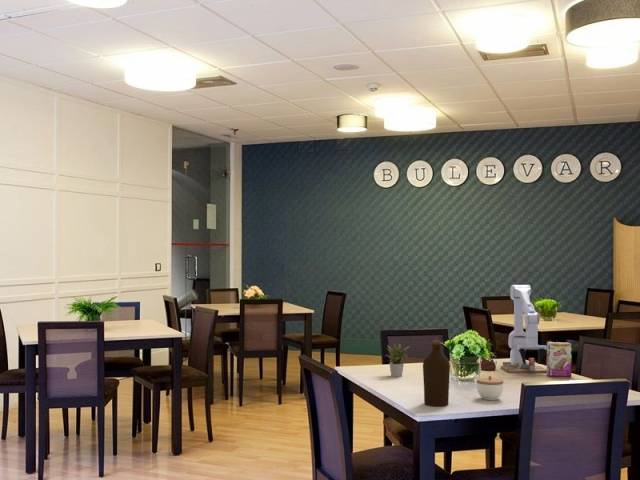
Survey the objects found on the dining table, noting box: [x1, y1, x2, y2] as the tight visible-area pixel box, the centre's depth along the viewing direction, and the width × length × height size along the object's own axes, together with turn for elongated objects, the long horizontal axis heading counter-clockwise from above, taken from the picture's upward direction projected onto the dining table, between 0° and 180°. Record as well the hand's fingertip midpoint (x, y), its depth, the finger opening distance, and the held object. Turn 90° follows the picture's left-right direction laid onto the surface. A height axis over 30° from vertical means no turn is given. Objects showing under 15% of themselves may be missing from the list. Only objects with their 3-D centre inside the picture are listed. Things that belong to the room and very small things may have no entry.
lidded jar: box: [476, 375, 504, 401], centre depth 290 cm, size 11×11×9 cm
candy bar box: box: [546, 341, 573, 378], centre depth 348 cm, size 11×5×16 cm, turn 84°
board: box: [500, 361, 547, 374], centre depth 364 cm, size 15×20×4 cm
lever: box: [520, 357, 536, 371], centre depth 362 cm, size 16×5×6 cm, turn 1°
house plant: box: [384, 342, 411, 378], centre depth 344 cm, size 14×14×16 cm
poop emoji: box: [480, 357, 498, 372], centre depth 367 cm, size 10×8×9 cm
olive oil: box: [422, 339, 451, 407], centre depth 279 cm, size 11×11×25 cm
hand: (531, 363), depth 356 cm, fingers open, 7 cm apart
